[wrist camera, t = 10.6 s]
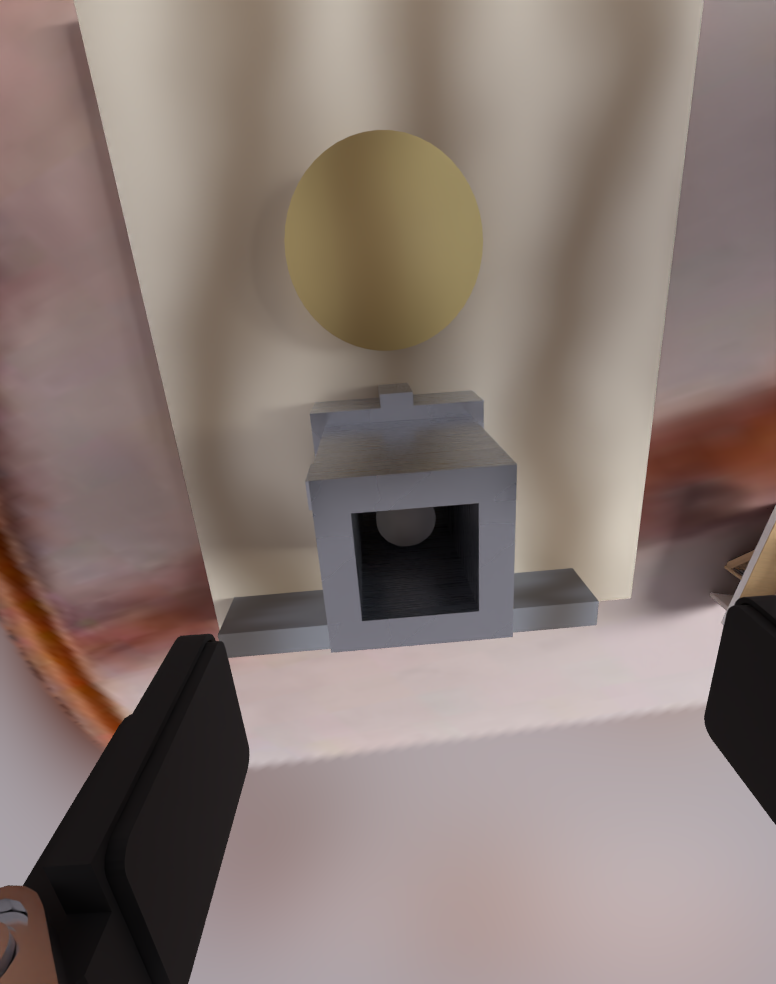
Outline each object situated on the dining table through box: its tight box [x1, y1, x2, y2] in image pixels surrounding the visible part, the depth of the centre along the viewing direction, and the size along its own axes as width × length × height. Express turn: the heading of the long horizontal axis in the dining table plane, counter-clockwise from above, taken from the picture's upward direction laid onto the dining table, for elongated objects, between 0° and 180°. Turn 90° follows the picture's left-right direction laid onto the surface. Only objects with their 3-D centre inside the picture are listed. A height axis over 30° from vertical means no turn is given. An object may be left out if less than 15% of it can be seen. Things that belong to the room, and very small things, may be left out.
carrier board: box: [74, 0, 704, 658], centre depth 18 cm, size 20×24×6 cm
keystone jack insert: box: [305, 383, 517, 653], centre depth 18 cm, size 7×7×8 cm
